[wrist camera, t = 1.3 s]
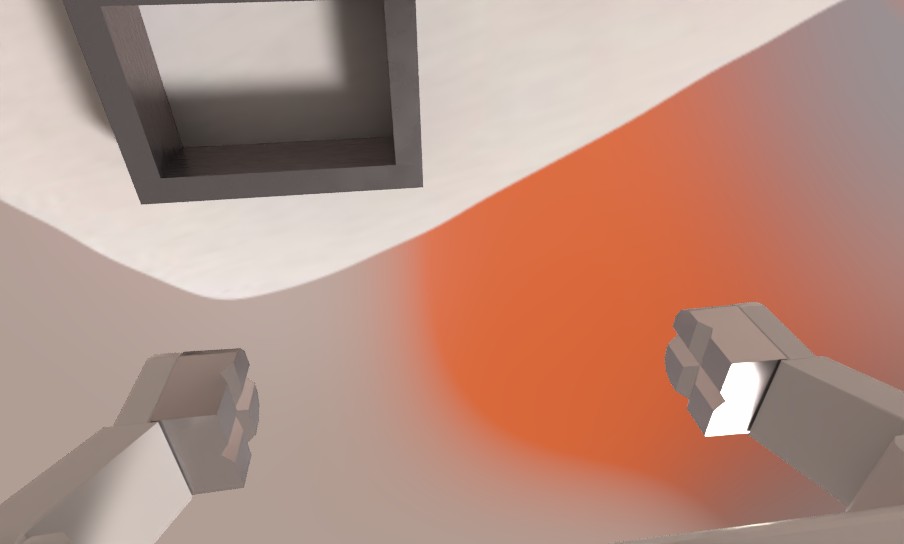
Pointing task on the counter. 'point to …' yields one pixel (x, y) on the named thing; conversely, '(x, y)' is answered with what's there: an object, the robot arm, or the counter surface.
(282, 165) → the grey open tray
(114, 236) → the counter surface
